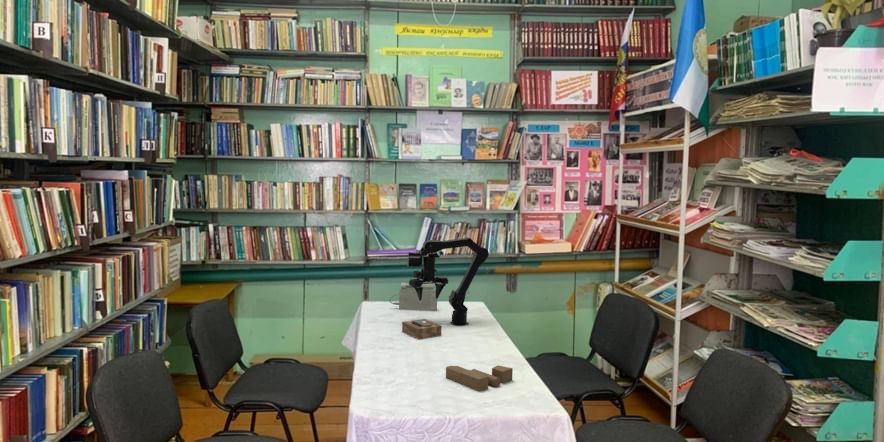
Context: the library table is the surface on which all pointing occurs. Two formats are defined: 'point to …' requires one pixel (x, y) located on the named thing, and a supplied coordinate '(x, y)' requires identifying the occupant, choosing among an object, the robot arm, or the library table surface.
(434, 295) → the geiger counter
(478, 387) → the wooden block set
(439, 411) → the library table surface
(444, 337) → the library table surface
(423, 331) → the pocket plate
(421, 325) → the block
